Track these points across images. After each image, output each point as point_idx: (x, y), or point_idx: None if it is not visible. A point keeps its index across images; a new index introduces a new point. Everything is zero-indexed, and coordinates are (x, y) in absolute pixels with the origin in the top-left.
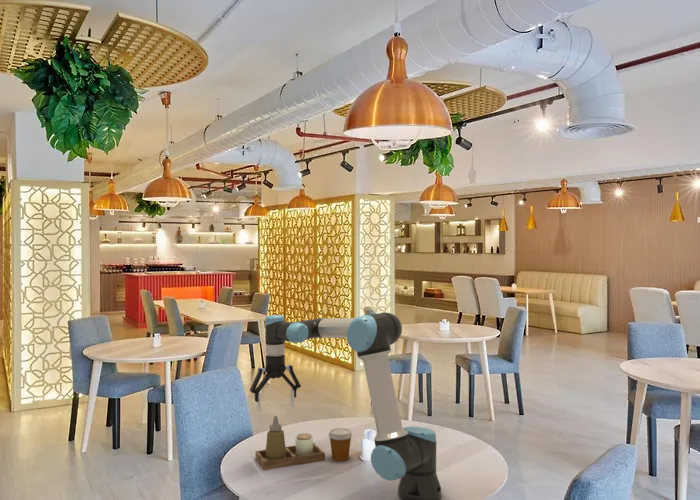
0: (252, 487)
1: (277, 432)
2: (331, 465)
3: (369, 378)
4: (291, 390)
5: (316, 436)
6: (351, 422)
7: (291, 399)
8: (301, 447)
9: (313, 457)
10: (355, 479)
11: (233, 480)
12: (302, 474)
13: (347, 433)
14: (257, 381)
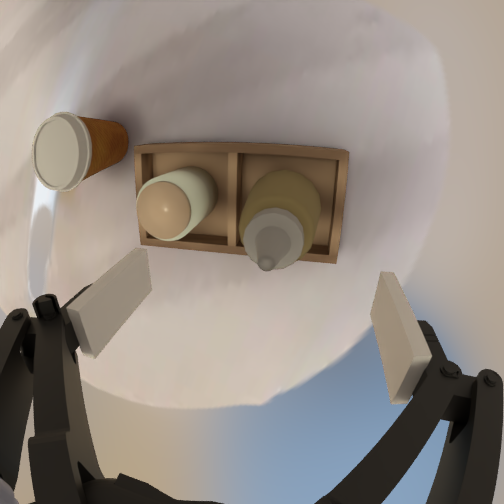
0: (406, 66)
1: (276, 204)
2: (140, 118)
3: None
4: (86, 325)
5: (128, 329)
6: None
7: (126, 288)
8: (192, 178)
9: (172, 143)
10: (127, 16)
11: (438, 143)
12: (238, 82)
13: (43, 124)
14: (478, 474)
